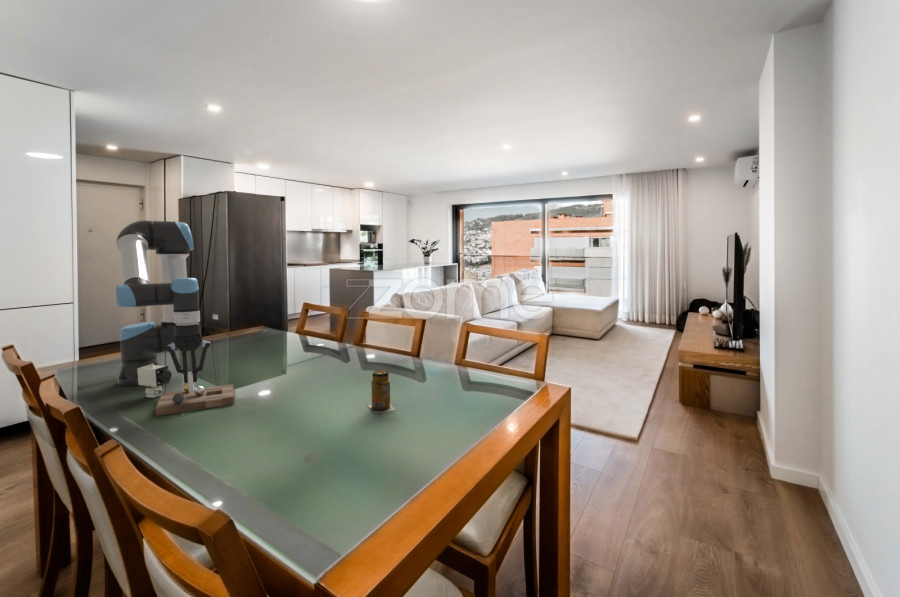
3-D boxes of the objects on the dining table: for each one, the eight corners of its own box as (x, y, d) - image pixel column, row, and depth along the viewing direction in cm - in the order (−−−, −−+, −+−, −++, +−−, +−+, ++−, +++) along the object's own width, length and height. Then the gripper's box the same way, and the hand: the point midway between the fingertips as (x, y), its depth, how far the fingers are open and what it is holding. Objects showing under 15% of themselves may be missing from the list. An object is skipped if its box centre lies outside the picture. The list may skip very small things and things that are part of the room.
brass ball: (183, 391, 147) (183, 382, 146) (194, 389, 148) (193, 381, 148) (183, 393, 144) (182, 384, 143) (193, 392, 145) (193, 383, 145)
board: (162, 400, 144) (162, 393, 144) (233, 390, 155) (233, 384, 154) (155, 415, 130) (155, 408, 130) (234, 403, 141) (233, 396, 140)
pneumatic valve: (162, 399, 145) (159, 366, 144) (134, 397, 147) (132, 364, 146) (175, 394, 150) (173, 362, 149) (149, 392, 153) (146, 361, 151)
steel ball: (207, 390, 145) (198, 396, 143) (201, 383, 144) (192, 389, 142) (206, 392, 142) (197, 398, 140) (200, 385, 141) (191, 391, 140)
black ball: (173, 402, 135) (172, 392, 135) (184, 400, 137) (184, 391, 136) (172, 405, 132) (171, 395, 132) (183, 403, 134) (183, 394, 133)
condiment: (388, 402, 142) (387, 368, 141) (396, 410, 134) (395, 374, 133) (367, 405, 139) (366, 371, 137) (374, 414, 131) (373, 377, 130)
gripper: (162, 326, 132) (167, 397, 134) (209, 323, 138) (212, 391, 141) (165, 323, 139) (170, 391, 141) (210, 320, 145) (213, 386, 147)
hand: (191, 391), depth 141 cm, fingers closed
